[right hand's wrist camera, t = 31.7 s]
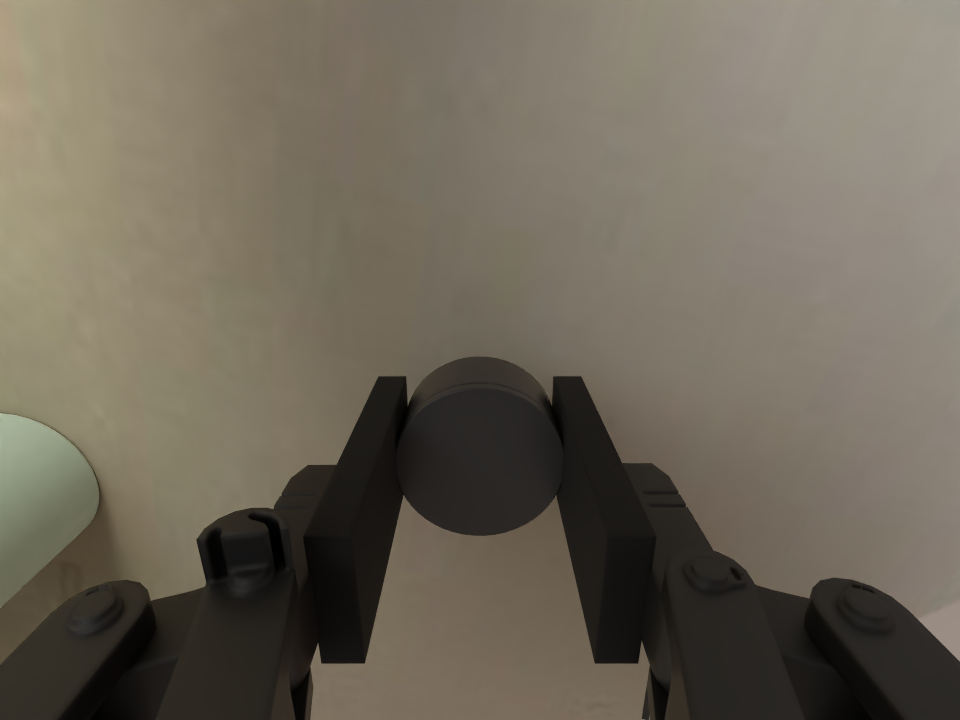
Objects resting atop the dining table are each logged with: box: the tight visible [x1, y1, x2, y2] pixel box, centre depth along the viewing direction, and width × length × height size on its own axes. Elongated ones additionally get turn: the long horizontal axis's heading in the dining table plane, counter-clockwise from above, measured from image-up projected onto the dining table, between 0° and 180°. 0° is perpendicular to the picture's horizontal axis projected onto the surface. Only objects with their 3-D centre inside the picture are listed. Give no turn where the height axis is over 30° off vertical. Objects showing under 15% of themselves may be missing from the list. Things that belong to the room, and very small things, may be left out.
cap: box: [396, 357, 564, 536], centre depth 14 cm, size 4×4×2 cm
